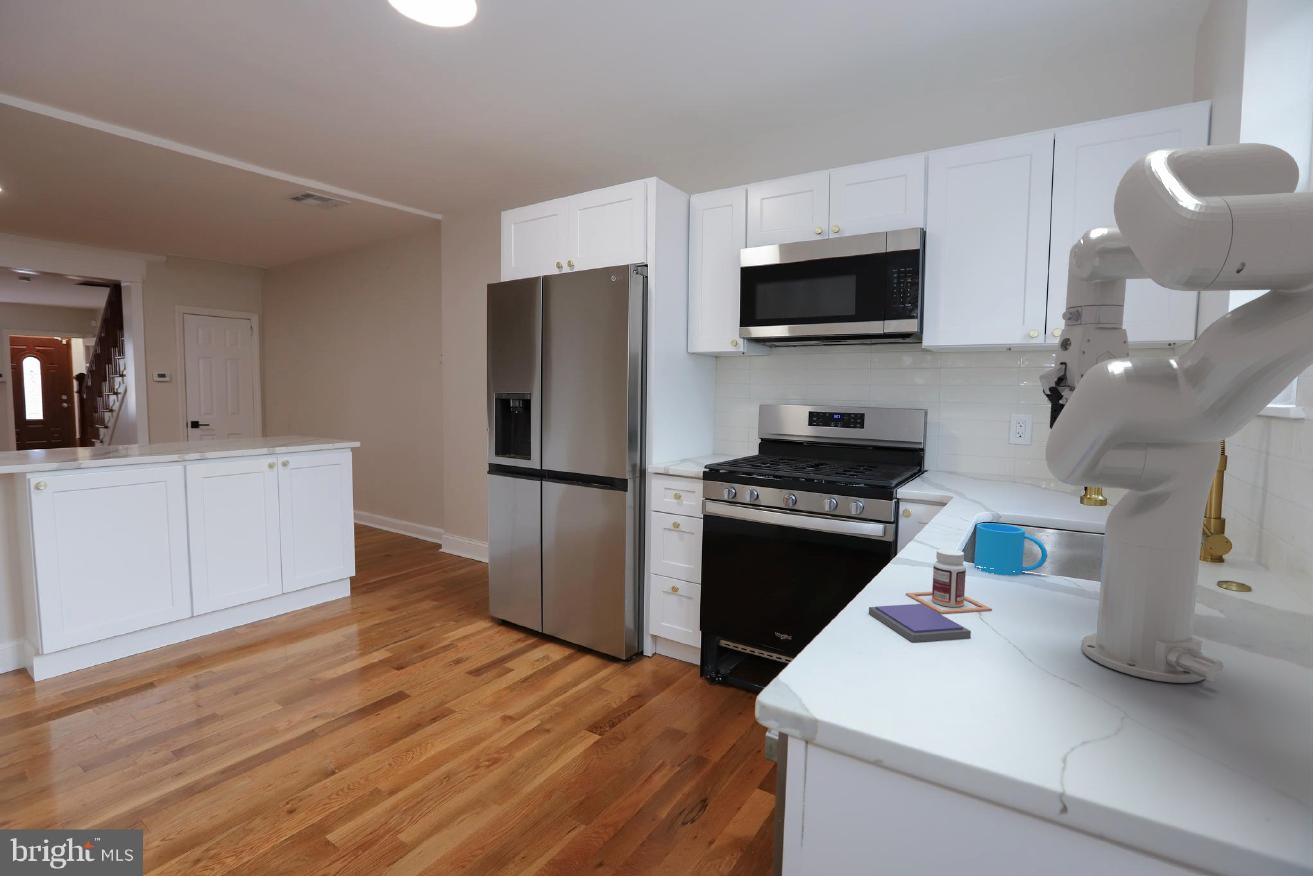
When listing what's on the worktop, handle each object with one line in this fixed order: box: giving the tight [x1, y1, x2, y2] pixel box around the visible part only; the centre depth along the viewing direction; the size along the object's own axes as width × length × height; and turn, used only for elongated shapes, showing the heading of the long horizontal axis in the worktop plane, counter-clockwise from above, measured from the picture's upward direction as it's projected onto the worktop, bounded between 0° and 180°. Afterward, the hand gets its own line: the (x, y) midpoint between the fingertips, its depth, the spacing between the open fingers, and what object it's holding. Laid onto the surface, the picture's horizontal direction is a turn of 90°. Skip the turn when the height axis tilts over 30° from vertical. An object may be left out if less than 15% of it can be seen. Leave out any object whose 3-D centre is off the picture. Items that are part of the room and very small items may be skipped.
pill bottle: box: [931, 548, 967, 608], centre depth 101 cm, size 5×5×8 cm
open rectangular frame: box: [905, 591, 993, 615], centre depth 102 cm, size 9×9×1 cm
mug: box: [973, 522, 1048, 577], centre depth 120 cm, size 12×8×8 cm
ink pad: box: [868, 603, 972, 643], centre depth 91 cm, size 11×9×1 cm
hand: (1085, 429), depth 100 cm, fingers open, 9 cm apart
